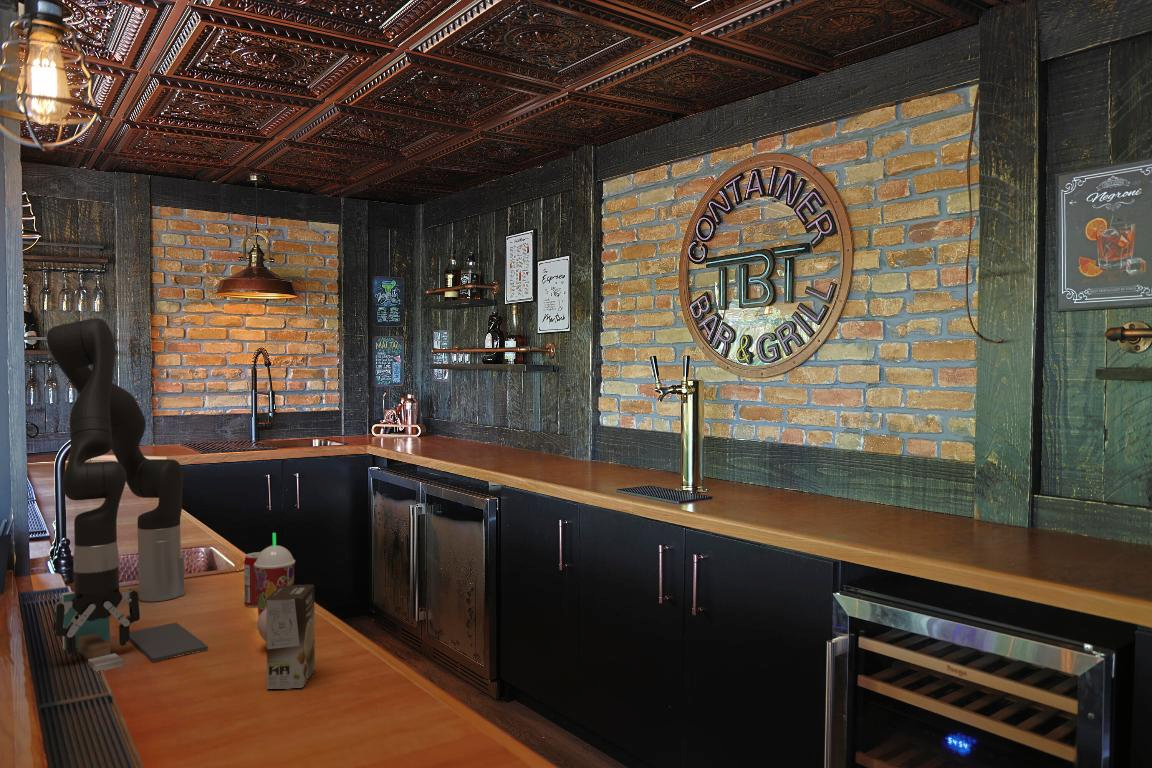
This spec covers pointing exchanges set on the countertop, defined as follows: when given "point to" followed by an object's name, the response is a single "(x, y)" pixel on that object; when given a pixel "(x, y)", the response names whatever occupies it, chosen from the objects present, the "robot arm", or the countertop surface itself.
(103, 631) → the tile
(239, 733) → the countertop surface
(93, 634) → the tan two-tone long part
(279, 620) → the coffee box
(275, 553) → the smoothie
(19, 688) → the countertop surface
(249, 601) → the soda can
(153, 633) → the mat
